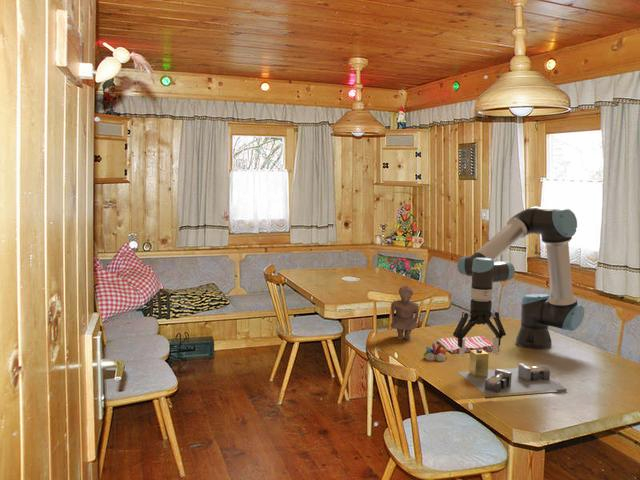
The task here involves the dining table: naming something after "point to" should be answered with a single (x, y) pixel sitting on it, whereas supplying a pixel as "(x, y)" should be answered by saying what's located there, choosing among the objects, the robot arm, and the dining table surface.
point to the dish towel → (467, 344)
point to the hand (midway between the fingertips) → (478, 354)
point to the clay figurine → (404, 313)
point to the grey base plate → (514, 384)
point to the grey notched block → (498, 381)
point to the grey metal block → (533, 373)
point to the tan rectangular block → (478, 363)
